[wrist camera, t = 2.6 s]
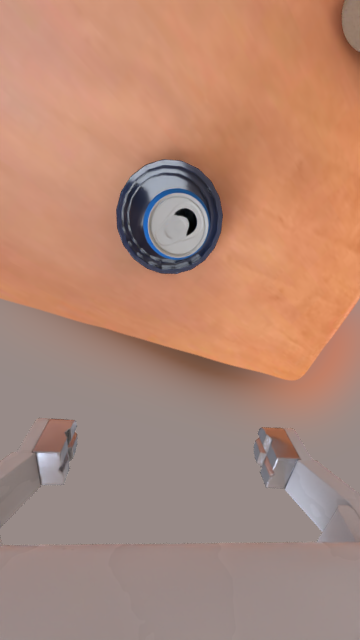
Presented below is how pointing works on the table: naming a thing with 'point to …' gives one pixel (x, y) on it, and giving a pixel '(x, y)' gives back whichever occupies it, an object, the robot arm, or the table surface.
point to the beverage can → (176, 224)
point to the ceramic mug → (351, 22)
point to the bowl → (140, 195)
